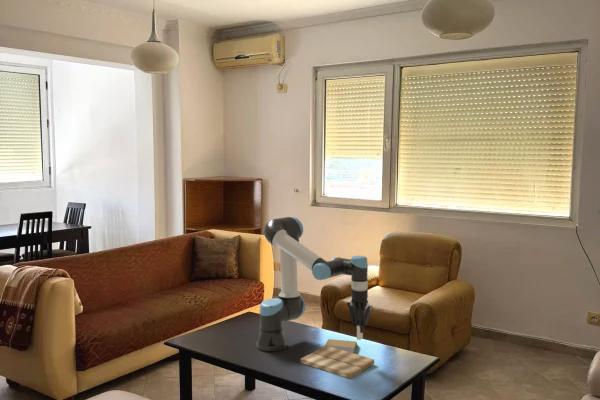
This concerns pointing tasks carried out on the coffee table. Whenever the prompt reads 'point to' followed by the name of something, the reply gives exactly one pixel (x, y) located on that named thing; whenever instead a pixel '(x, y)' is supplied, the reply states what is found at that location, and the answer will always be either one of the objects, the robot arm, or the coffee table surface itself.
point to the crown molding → (342, 345)
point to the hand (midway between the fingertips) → (359, 338)
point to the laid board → (331, 365)
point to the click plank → (345, 357)
